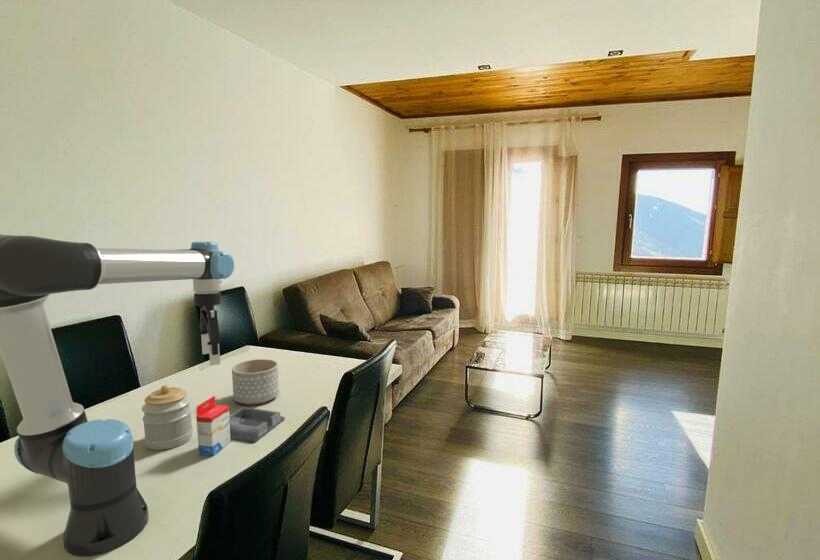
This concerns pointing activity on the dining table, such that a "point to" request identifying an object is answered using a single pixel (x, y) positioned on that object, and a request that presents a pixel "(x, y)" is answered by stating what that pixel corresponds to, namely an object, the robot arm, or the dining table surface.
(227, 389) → the dining table surface
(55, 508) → the dining table surface
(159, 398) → the jar
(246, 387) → the planter
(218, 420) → the ink box
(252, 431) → the fixture tray
